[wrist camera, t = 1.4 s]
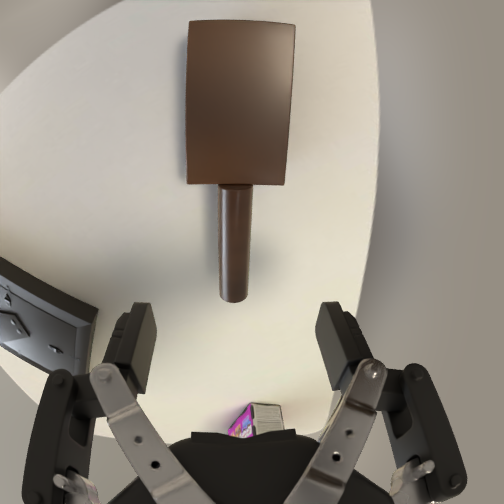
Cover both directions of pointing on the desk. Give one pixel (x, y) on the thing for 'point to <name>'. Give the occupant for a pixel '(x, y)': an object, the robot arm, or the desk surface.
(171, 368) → the desk surface
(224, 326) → the desk surface
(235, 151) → the brush
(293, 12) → the desk surface
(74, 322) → the picture frame
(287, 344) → the desk surface
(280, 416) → the candy bar box
